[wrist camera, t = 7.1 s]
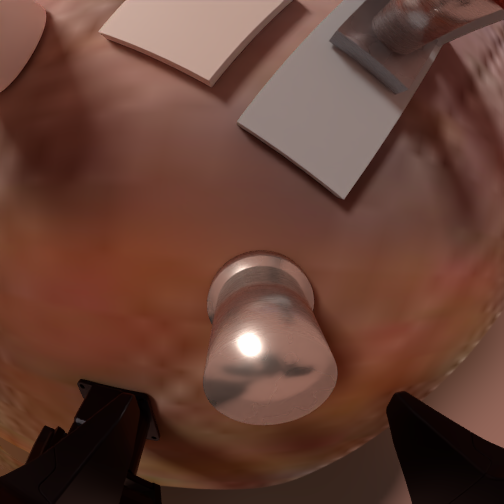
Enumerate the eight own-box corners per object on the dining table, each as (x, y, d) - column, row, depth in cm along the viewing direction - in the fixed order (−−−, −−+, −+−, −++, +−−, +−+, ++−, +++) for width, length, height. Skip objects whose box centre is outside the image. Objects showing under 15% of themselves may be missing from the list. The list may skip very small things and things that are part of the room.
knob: (302, 340, 16) (329, 426, 10) (209, 338, 16) (194, 428, 9) (316, 253, 15) (369, 318, 8) (209, 247, 14) (183, 314, 8)
